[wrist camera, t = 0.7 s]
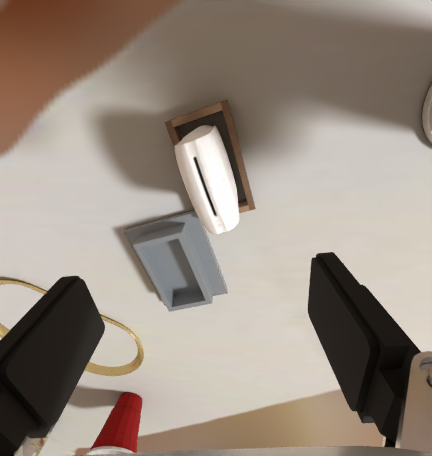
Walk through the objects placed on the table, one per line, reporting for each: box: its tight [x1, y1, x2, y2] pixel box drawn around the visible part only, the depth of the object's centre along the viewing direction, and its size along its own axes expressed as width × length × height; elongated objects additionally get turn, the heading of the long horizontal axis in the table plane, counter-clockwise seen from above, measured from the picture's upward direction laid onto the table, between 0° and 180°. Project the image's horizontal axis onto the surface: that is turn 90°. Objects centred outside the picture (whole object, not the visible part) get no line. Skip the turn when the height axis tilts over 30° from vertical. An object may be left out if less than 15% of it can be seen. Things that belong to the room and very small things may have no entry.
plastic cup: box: [87, 393, 142, 455], centre depth 54 cm, size 11×11×12 cm
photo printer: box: [175, 125, 239, 234], centre depth 26 cm, size 10×4×12 cm, turn 19°
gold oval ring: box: [0, 280, 144, 376], centre depth 49 cm, size 19×35×2 cm, turn 58°
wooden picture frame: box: [165, 100, 255, 213], centre depth 30 cm, size 8×14×2 cm, turn 18°
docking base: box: [124, 210, 227, 312], centre depth 37 cm, size 12×16×4 cm
